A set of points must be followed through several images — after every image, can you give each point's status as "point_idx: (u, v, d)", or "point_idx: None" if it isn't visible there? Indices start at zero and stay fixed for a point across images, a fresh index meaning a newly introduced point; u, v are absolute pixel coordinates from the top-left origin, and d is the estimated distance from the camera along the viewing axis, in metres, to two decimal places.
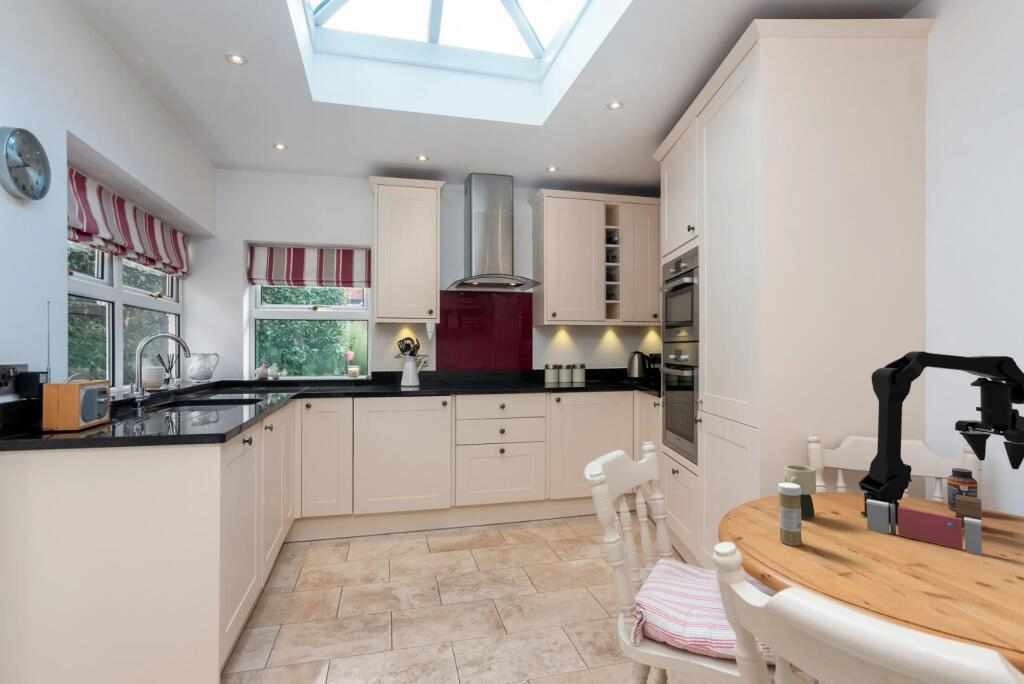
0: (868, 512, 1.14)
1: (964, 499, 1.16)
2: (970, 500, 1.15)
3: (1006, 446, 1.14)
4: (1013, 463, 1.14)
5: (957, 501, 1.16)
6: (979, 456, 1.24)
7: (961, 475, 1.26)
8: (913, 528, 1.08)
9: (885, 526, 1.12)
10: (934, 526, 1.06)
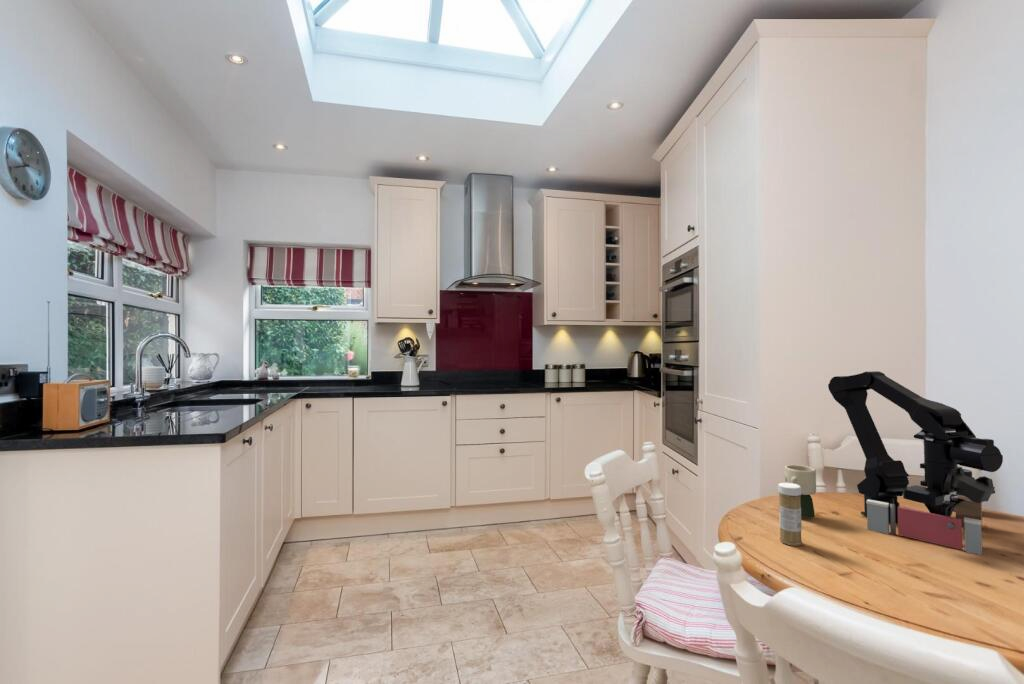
0: (868, 512, 1.14)
1: (964, 499, 1.16)
2: (970, 500, 1.15)
3: None
4: None
5: None
6: None
7: None
8: (913, 528, 1.08)
9: (885, 526, 1.12)
10: (934, 526, 1.06)
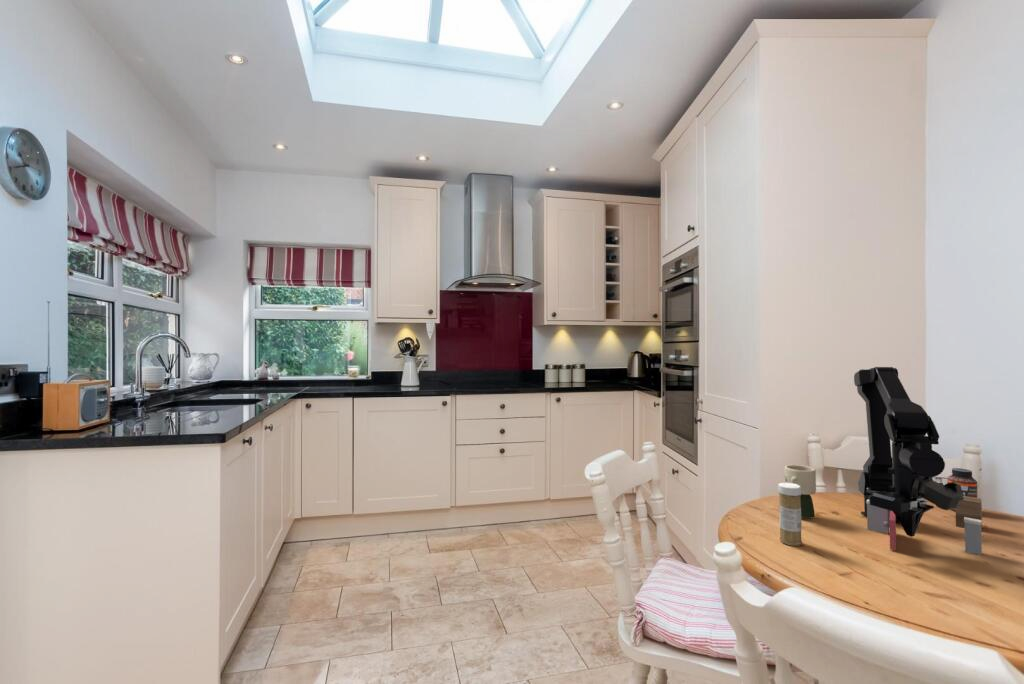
0: (868, 512, 1.14)
1: (964, 499, 1.16)
2: (970, 500, 1.15)
3: None
4: (903, 527, 1.04)
5: None
6: None
7: (961, 475, 1.26)
8: None
9: None
10: None
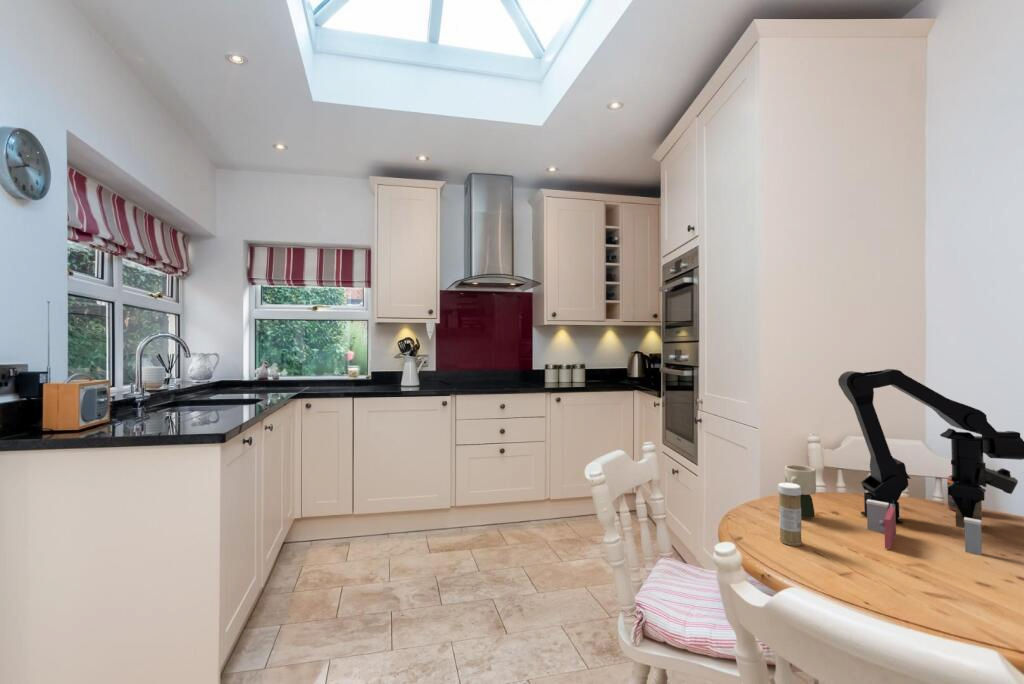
0: (868, 512, 1.14)
1: None
2: None
3: None
4: (962, 514, 1.15)
5: None
6: None
7: None
8: None
9: None
10: None
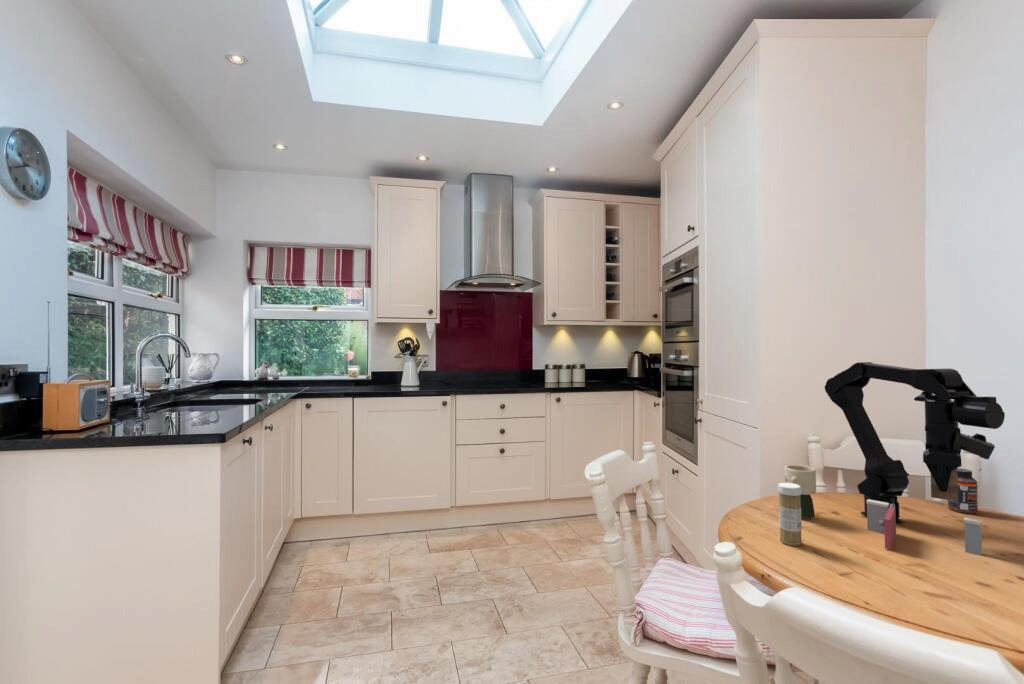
0: (868, 512, 1.14)
1: None
2: None
3: None
4: (937, 484, 1.06)
5: None
6: None
7: (961, 475, 1.26)
8: None
9: None
10: None
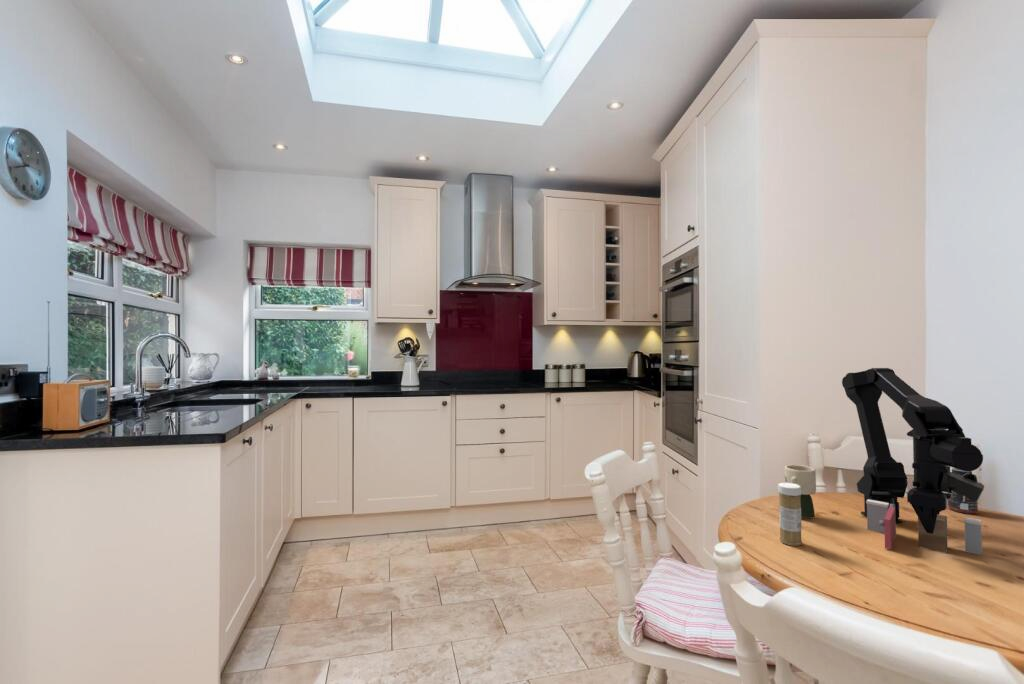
0: (868, 512, 1.14)
1: None
2: None
3: None
4: (923, 525, 1.02)
5: None
6: None
7: (961, 475, 1.26)
8: None
9: None
10: None
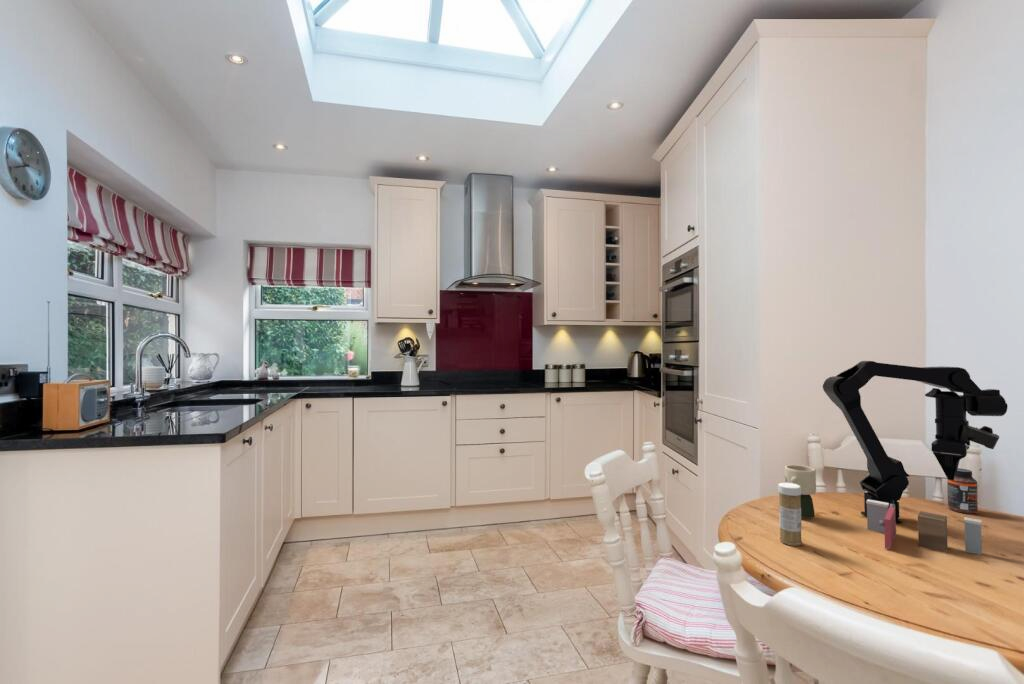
0: (868, 512, 1.14)
1: (927, 516, 1.04)
2: (934, 518, 1.03)
3: None
4: (945, 473, 1.16)
5: (920, 518, 1.04)
6: None
7: (961, 475, 1.26)
8: None
9: None
10: None
